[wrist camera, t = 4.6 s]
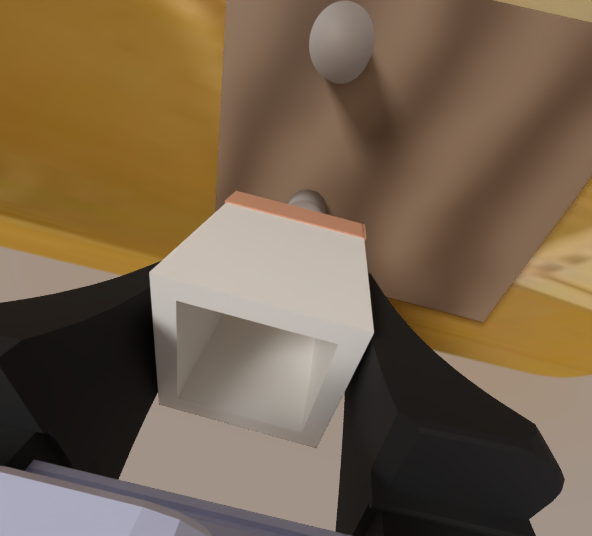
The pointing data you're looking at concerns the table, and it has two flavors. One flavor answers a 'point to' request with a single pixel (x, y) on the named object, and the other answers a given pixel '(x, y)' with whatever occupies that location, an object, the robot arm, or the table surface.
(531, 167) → the pin board
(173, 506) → the robot arm
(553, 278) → the table surface
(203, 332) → the sleeve
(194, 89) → the table surface
